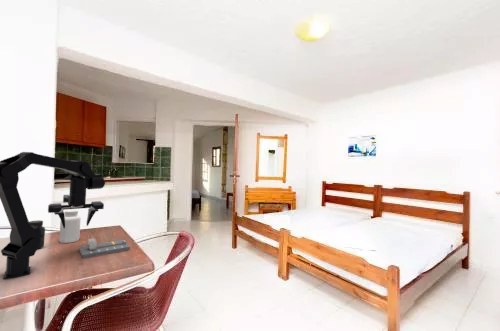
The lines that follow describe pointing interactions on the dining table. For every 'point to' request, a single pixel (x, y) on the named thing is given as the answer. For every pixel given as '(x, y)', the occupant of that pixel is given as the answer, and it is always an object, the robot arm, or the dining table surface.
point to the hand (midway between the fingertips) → (76, 226)
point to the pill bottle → (70, 227)
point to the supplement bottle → (42, 231)
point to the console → (104, 248)
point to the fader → (92, 243)
